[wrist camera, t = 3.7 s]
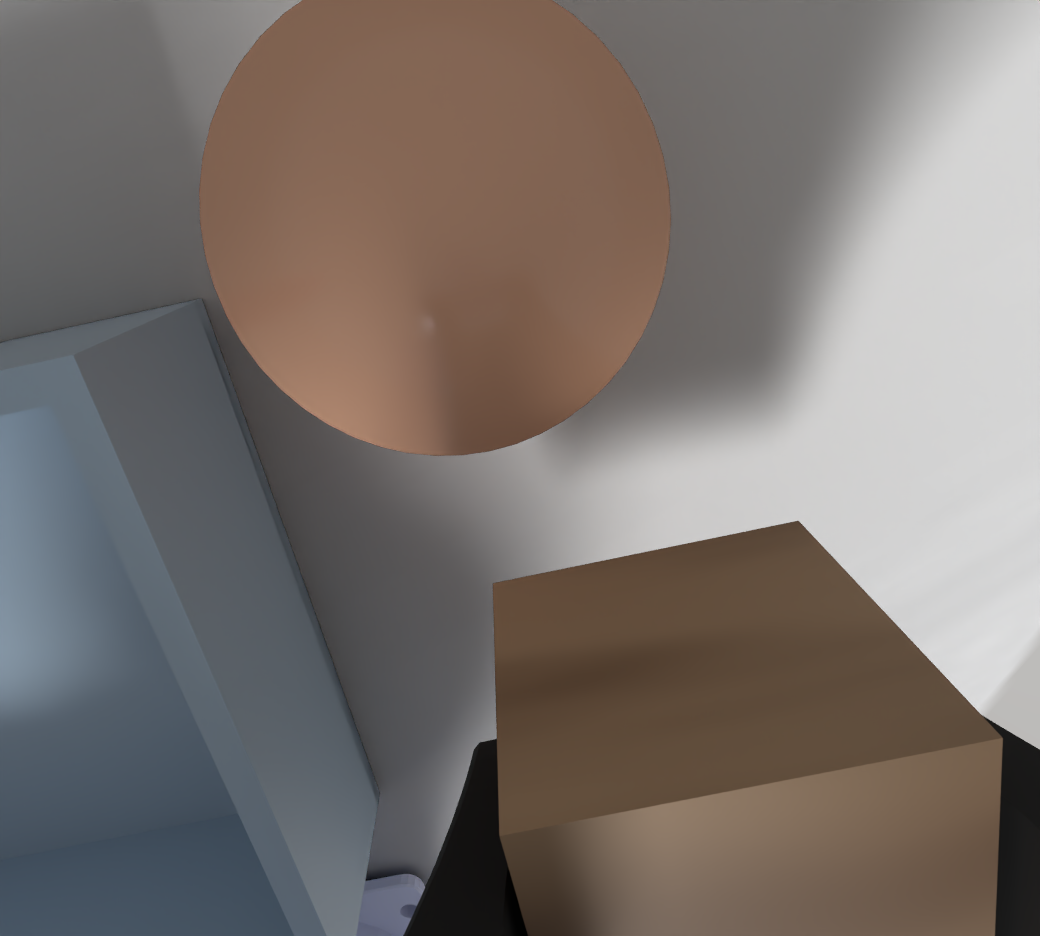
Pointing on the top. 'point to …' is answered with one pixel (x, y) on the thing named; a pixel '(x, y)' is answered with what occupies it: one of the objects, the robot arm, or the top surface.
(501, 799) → the walnut cube
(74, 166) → the top surface
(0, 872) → the tote
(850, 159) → the top surface
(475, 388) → the terracotta cylinder
